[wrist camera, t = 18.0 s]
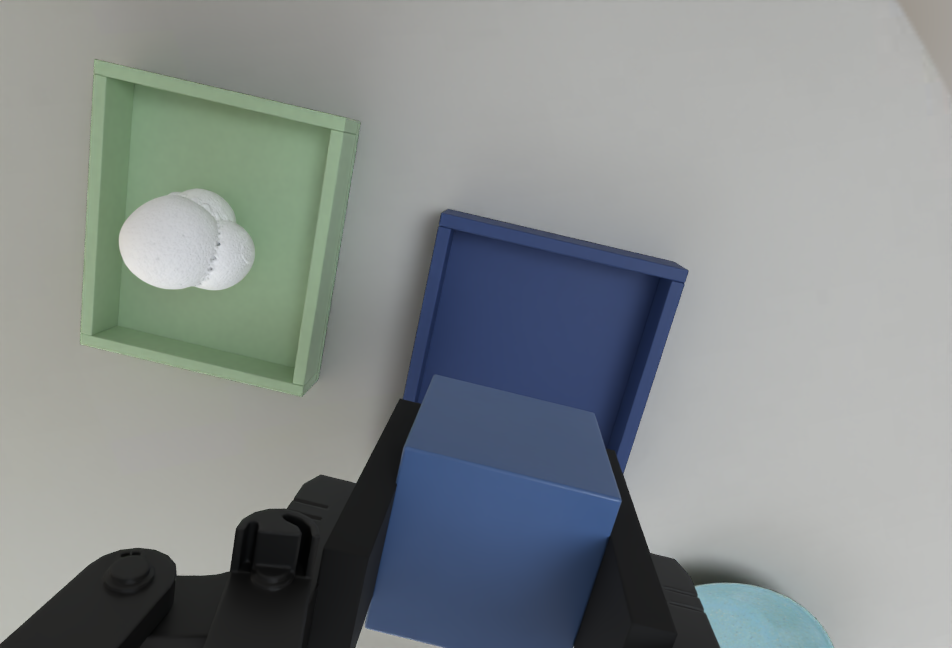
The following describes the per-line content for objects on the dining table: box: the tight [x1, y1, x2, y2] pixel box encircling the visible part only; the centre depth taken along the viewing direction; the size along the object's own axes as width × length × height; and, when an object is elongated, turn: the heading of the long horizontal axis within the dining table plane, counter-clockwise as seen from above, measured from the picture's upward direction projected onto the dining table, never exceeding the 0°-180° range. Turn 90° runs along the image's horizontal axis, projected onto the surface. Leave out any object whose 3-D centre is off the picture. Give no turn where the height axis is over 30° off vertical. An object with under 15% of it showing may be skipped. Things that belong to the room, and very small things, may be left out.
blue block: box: [365, 375, 622, 648], centre depth 14 cm, size 4×4×4 cm
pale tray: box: [80, 59, 361, 397], centre depth 29 cm, size 13×11×2 cm
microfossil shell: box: [119, 188, 255, 290], centre depth 27 cm, size 4×5×6 cm
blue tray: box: [403, 209, 688, 473], centre depth 29 cm, size 13×11×2 cm
